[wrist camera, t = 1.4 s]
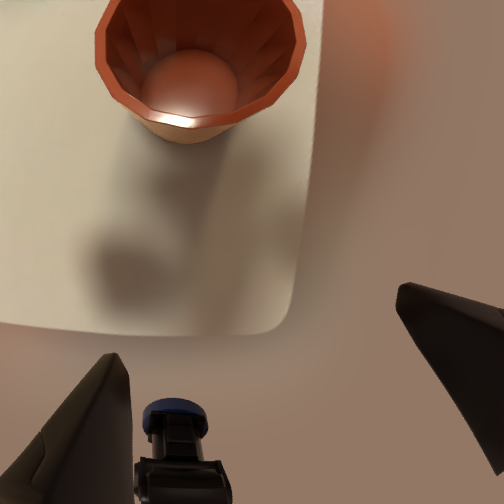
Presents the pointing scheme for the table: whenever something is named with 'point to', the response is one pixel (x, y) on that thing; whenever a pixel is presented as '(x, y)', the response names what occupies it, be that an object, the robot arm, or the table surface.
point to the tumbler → (198, 61)
